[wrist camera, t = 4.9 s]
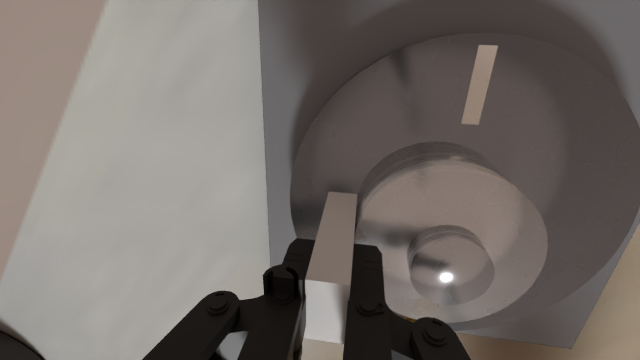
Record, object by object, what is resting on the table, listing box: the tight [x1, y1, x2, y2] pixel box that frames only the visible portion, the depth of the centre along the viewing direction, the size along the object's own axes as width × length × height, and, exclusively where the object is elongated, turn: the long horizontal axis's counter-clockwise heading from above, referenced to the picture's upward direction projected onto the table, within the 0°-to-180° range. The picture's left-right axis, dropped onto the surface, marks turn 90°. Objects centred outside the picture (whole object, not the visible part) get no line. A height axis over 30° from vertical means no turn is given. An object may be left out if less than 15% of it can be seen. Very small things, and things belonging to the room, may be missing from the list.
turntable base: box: [258, 0, 640, 349], centre depth 19 cm, size 22×22×2 cm
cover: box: [354, 142, 548, 323], centre depth 15 cm, size 8×8×5 cm
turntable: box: [290, 33, 640, 331], centre depth 16 cm, size 18×23×6 cm
